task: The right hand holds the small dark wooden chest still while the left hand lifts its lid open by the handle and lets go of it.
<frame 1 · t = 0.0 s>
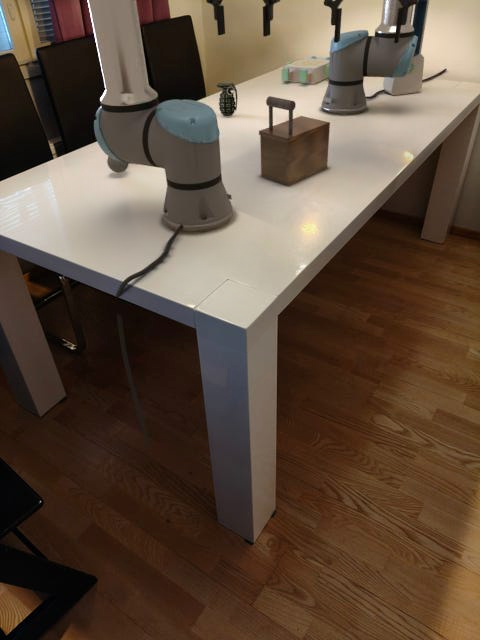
left hand: (243, 35, 129), 28 cm above the table, tool pointing down, fingers open, 13 cm apart
right hand: (366, 42, 112), 28 cm above the table, tool pointing down, fingers open, 13 cm apart
grenade: (228, 115, 169), on the table
molecular model: (143, 158, 139), on the table
decorative block: (308, 78, 208), on the table
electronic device: (401, 92, 183), on the table
chest: (294, 172, 126), on the table
lid: (295, 112, 116), point 15 cm above the table, hinge at 0.0°
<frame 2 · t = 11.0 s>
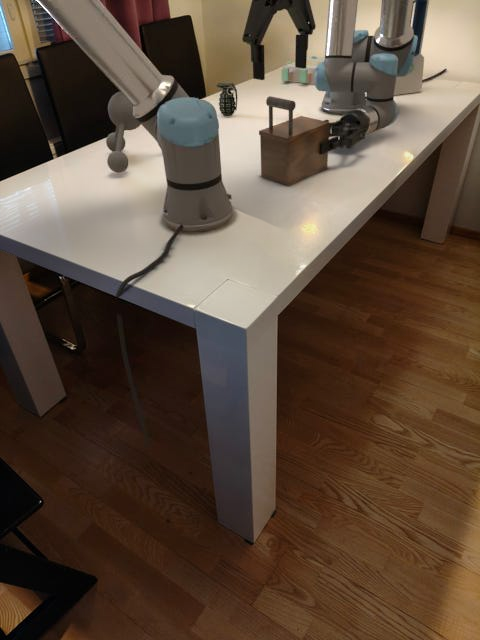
left hand: (280, 73, 108), 24 cm above the table, tool pointing down, fingers open, 13 cm apart
right hand: (305, 144, 124), 6 cm above the table, tool horizontal, fingers closed on chest, 9 cm apart
chest: (294, 172, 126), on the table, touching right hand
everything else where it was.
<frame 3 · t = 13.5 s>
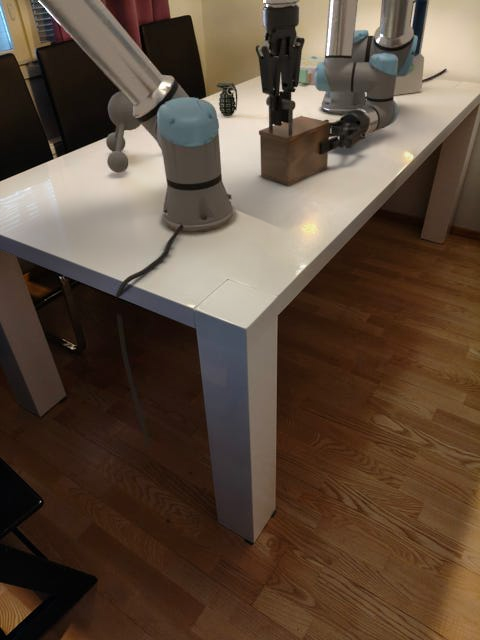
left hand: (280, 123, 115), 14 cm above the table, tool pointing down, fingers closed on lid, 2 cm apart
right hand: (305, 144, 124), 6 cm above the table, tool horizontal, fingers closed on chest, 9 cm apart
chest: (294, 172, 126), on the table, touching right hand
lid: (294, 112, 116), point 15 cm above the table, hinge at 0.1°, touching left hand
everything else where it was.
when the right hand's fingers open (6 cm above the table, at t = 20.5 s): chest stays where it is, on the table.
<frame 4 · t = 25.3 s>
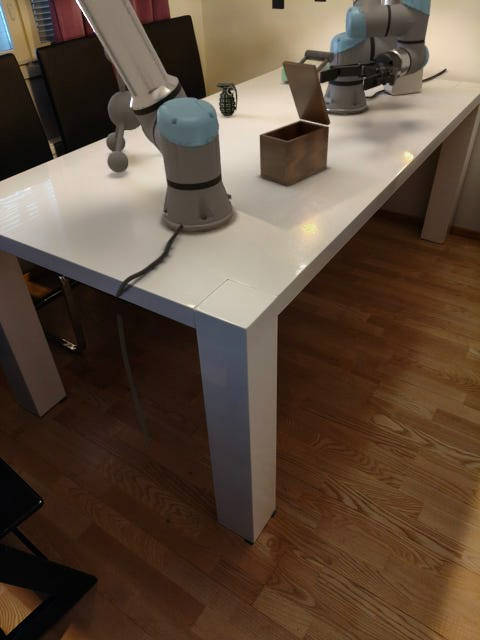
left hand: (299, 5, 104), 36 cm above the table, tool pointing down, fingers open, 13 cm apart
right hand: (342, 81, 123), 18 cm above the table, tool horizontal, fingers open, 13 cm apart
chest: (293, 172, 126), on the table
lid: (316, 84, 117), point 20 cm above the table, hinge at 64.5°
everything else where it was.
at the end: lid at +64° (first picture: +0°); the left hand is holding nothing; the right hand is holding nothing; chest tilted 0°; chest never tilted more than 4° during the clip; chest moved 0.2 cm from its start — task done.
